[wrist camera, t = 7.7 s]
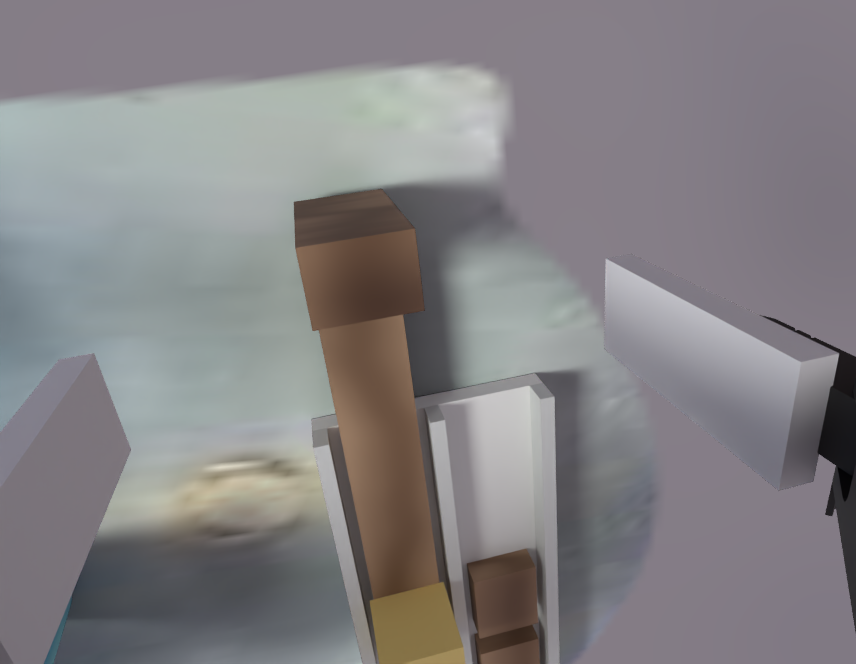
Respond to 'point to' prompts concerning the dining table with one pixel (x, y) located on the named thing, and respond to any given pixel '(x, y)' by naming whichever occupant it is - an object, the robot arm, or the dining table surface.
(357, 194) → the strip
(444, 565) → the lane board
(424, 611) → the cube
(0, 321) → the dining table surface
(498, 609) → the broken strip
